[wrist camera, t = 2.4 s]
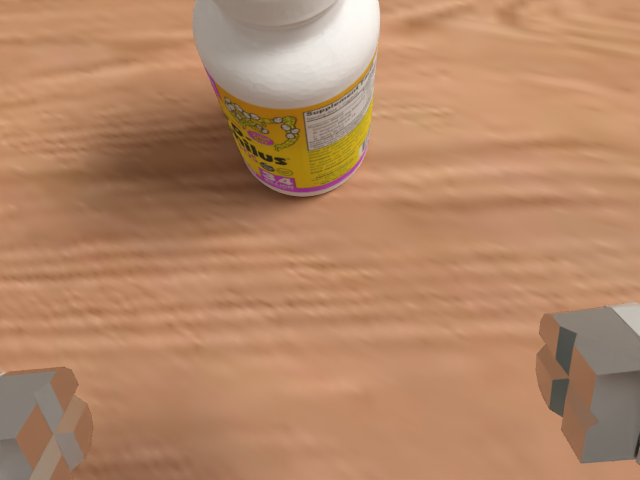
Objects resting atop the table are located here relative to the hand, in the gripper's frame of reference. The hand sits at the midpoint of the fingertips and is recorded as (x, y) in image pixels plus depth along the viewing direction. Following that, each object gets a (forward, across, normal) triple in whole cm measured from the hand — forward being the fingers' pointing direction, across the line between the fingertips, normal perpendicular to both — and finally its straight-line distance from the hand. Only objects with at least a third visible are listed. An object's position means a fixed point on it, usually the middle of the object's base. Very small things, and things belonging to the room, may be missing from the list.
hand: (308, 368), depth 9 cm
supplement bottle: (+20, 0, +2) cm, 20 cm away
